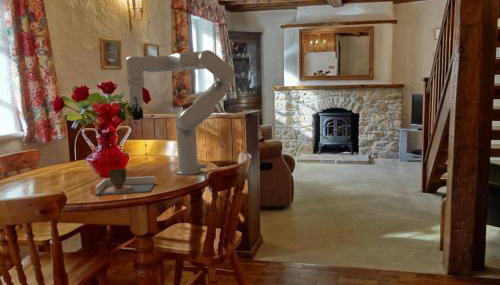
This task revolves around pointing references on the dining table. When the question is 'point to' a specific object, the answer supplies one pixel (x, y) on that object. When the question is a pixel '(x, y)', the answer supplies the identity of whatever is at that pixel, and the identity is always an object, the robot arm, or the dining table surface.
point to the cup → (117, 177)
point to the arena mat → (127, 189)
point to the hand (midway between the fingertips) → (138, 119)
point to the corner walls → (128, 182)
